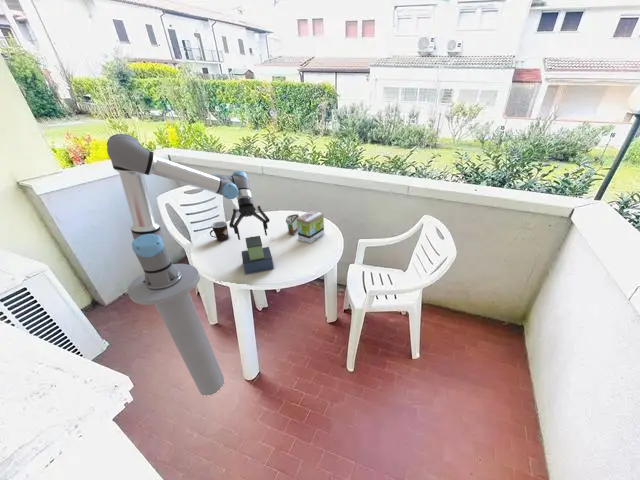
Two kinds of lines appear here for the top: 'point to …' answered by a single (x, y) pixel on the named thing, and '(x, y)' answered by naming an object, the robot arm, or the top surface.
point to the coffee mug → (220, 230)
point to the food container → (292, 223)
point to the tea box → (310, 226)
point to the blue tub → (257, 262)
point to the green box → (254, 247)
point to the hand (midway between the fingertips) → (252, 237)
